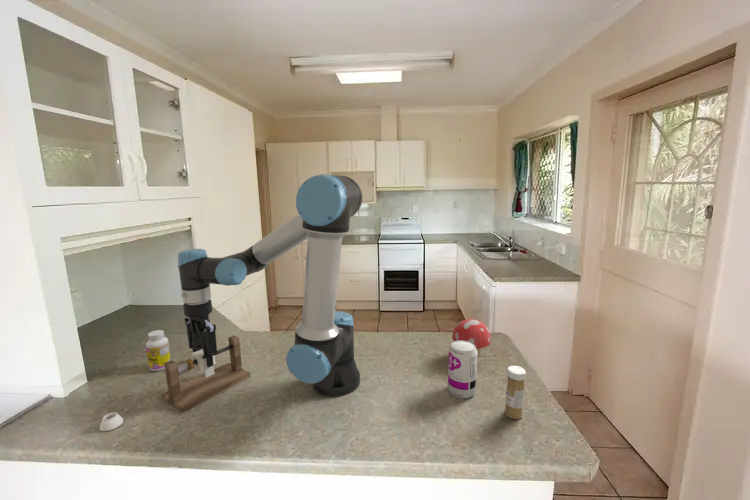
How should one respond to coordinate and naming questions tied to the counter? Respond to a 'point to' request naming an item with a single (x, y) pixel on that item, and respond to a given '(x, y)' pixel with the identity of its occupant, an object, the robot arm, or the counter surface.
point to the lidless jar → (110, 421)
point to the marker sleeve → (200, 359)
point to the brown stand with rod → (203, 379)
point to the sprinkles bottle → (515, 392)
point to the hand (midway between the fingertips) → (205, 372)
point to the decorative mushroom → (472, 334)
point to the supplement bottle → (157, 350)
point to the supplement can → (462, 369)
